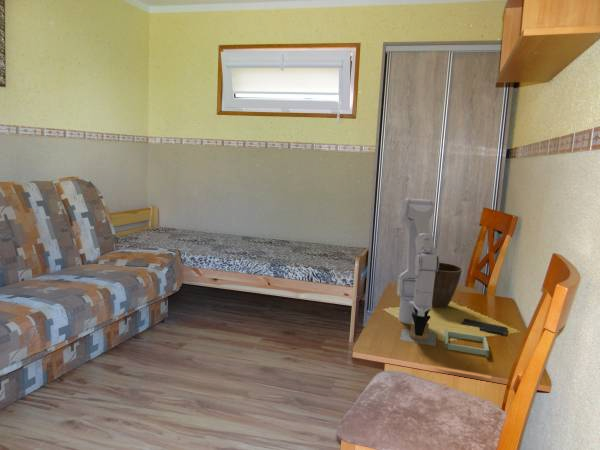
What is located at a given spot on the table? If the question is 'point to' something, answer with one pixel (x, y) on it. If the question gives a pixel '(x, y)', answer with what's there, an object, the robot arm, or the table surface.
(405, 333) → the stake board
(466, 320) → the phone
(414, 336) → the wood ring
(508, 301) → the table surface
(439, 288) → the plant pot
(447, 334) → the sage tray
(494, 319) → the table surface
